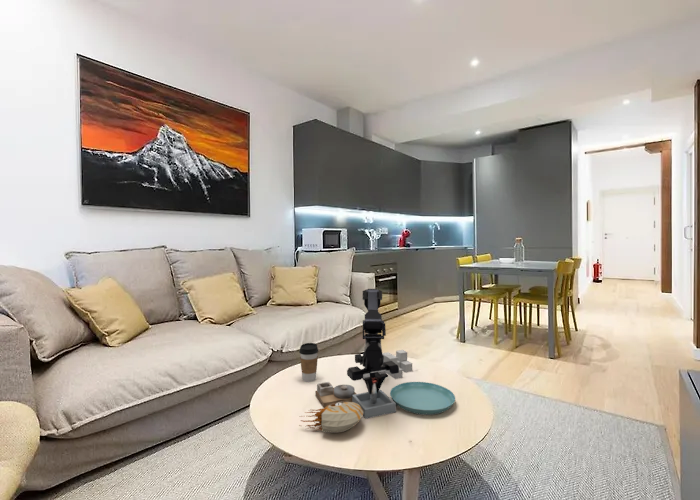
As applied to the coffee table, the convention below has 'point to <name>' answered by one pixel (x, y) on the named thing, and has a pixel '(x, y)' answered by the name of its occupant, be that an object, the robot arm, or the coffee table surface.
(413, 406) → the teal round plate
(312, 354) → the coffee cup
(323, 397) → the pulley block
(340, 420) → the nautilus
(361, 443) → the coffee table surface
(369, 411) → the tray
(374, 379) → the lock pin
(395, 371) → the robot arm
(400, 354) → the puzzle cube
